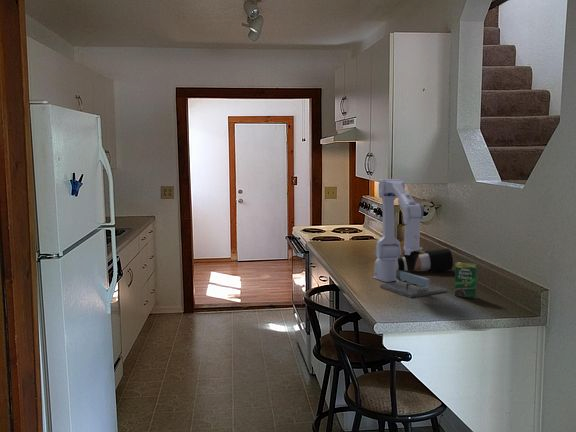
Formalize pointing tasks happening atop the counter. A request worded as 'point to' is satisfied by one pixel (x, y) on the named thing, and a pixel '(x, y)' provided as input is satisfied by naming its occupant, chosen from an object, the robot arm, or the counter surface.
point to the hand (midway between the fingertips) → (411, 270)
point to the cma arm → (412, 278)
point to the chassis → (412, 288)
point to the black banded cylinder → (429, 261)
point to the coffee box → (465, 280)
